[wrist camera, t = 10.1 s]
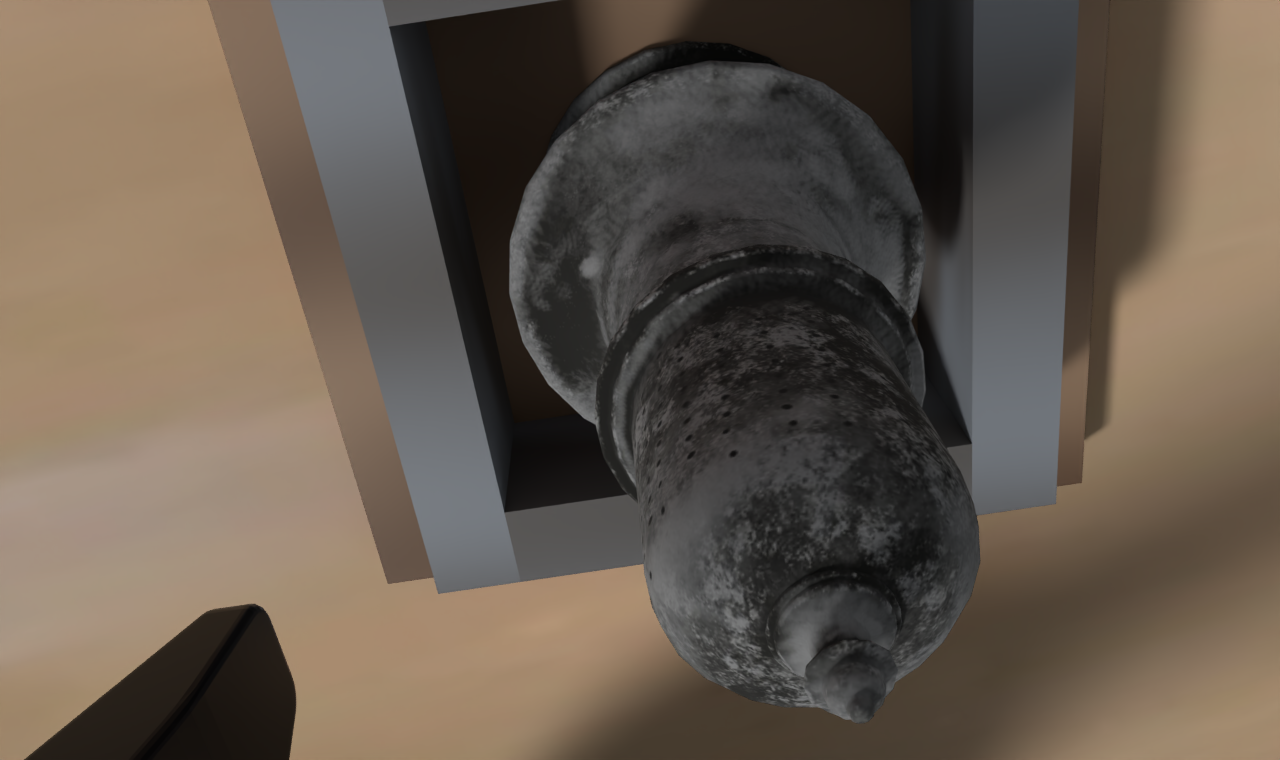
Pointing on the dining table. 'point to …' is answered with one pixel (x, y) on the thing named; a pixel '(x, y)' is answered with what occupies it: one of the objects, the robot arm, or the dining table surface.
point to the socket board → (513, 150)
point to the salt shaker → (752, 368)
